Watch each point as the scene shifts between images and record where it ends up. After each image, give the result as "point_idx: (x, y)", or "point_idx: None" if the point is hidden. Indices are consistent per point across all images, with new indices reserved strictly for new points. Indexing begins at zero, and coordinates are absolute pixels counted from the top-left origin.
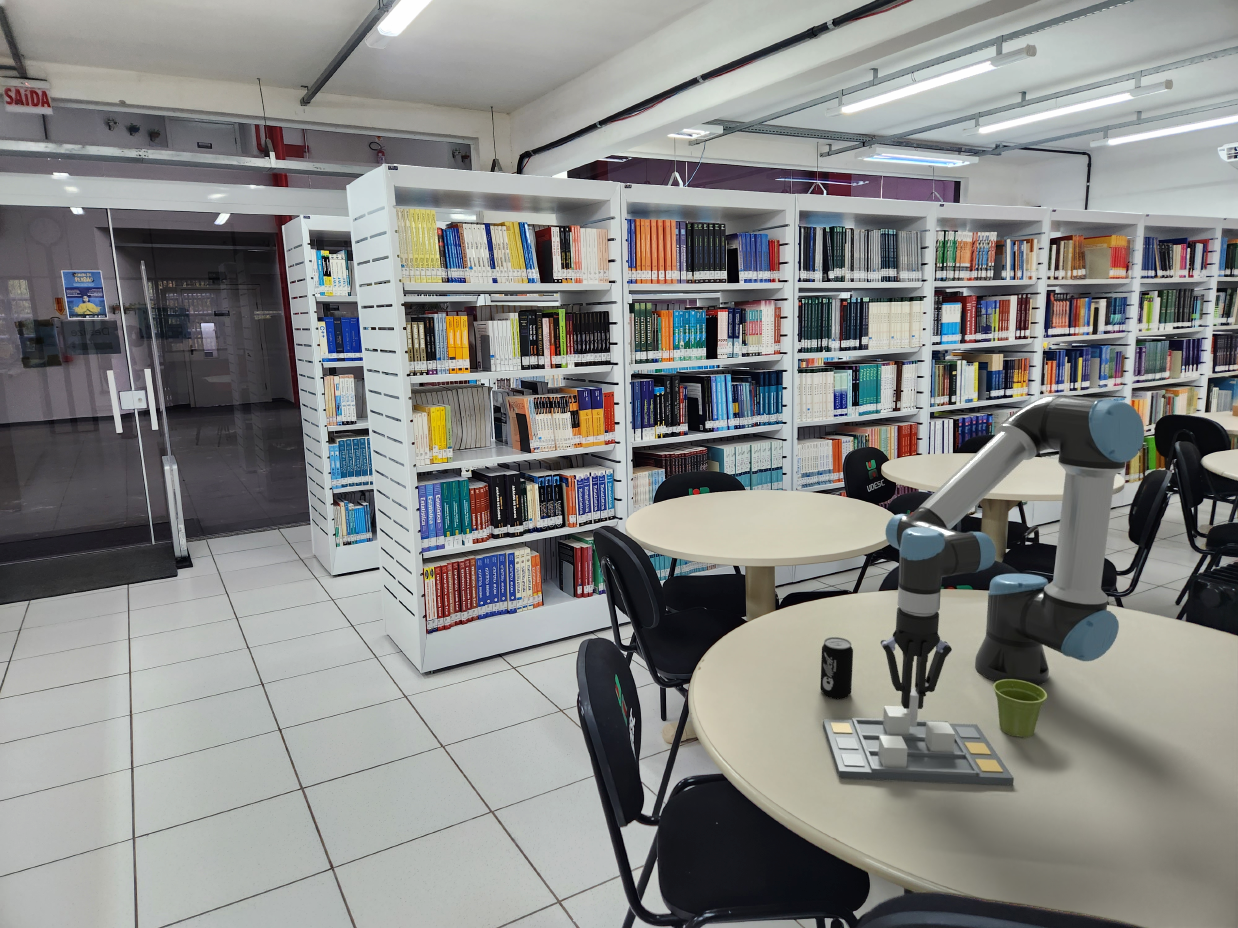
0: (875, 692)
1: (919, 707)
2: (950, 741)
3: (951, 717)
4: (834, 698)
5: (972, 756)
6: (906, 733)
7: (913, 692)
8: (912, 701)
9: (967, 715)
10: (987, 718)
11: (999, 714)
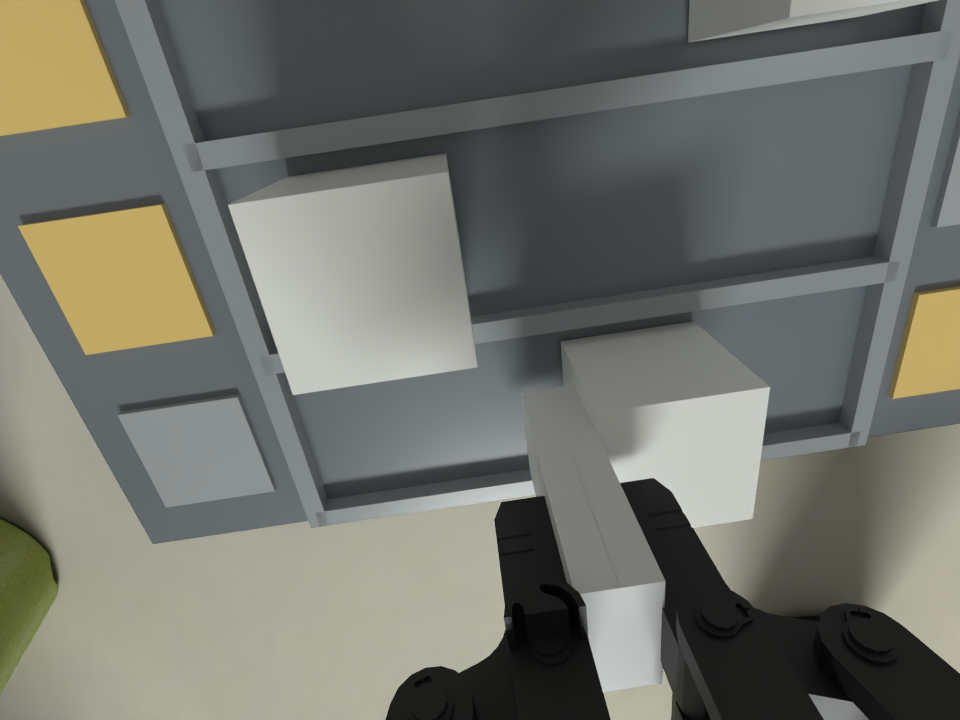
0: (614, 691)
1: (524, 507)
2: (290, 185)
3: (297, 595)
4: (816, 617)
5: (153, 168)
6: (581, 345)
7: (616, 636)
8: (618, 526)
9: (222, 624)
10: (128, 622)
11: (2, 628)
